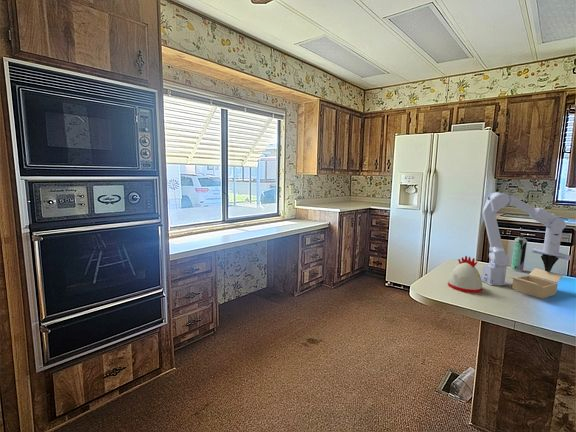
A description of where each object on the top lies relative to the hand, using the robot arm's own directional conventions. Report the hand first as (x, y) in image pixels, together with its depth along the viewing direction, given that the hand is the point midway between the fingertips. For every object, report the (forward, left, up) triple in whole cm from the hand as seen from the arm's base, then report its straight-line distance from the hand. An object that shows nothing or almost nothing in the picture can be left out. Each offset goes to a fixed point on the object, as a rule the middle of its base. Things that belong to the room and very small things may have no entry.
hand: (547, 271), depth 147 cm
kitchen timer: (-38, +4, -9) cm, 39 cm away
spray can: (+10, +27, -9) cm, 30 cm away
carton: (-9, -3, -8) cm, 13 cm away
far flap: (-1, -1, -2) cm, 2 cm away
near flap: (-17, -6, -2) cm, 19 cm away
